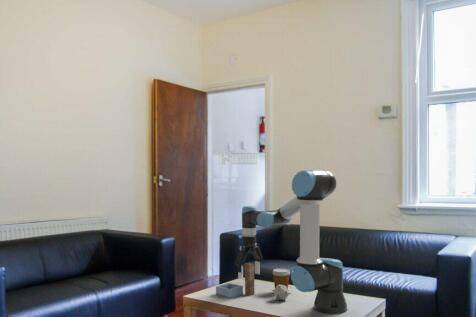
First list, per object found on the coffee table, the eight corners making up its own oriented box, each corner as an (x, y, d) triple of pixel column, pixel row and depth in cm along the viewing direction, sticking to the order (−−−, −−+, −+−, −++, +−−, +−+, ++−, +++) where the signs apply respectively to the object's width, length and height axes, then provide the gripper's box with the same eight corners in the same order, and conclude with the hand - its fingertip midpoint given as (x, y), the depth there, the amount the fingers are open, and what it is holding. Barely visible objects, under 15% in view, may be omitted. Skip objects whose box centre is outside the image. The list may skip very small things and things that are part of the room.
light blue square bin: (242, 294, 236) (242, 285, 236) (230, 298, 228) (230, 289, 228) (229, 291, 242) (228, 282, 242) (216, 295, 235) (215, 286, 235)
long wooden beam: (254, 294, 235) (254, 263, 236) (250, 295, 233) (249, 264, 233) (249, 293, 238) (249, 262, 238) (245, 294, 235) (244, 263, 235)
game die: (285, 307, 225) (296, 290, 225) (278, 305, 218) (290, 288, 218) (272, 295, 230) (283, 279, 230) (265, 293, 223) (277, 277, 224)
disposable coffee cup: (289, 295, 232) (289, 272, 232) (271, 295, 234) (271, 271, 234) (291, 291, 241) (290, 268, 242) (273, 290, 243) (273, 268, 244)
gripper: (258, 232, 248) (258, 270, 248) (227, 237, 229) (227, 279, 229) (269, 233, 243) (269, 272, 243) (238, 239, 224) (238, 281, 224)
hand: (249, 276), depth 236 cm, fingers open, 13 cm apart
